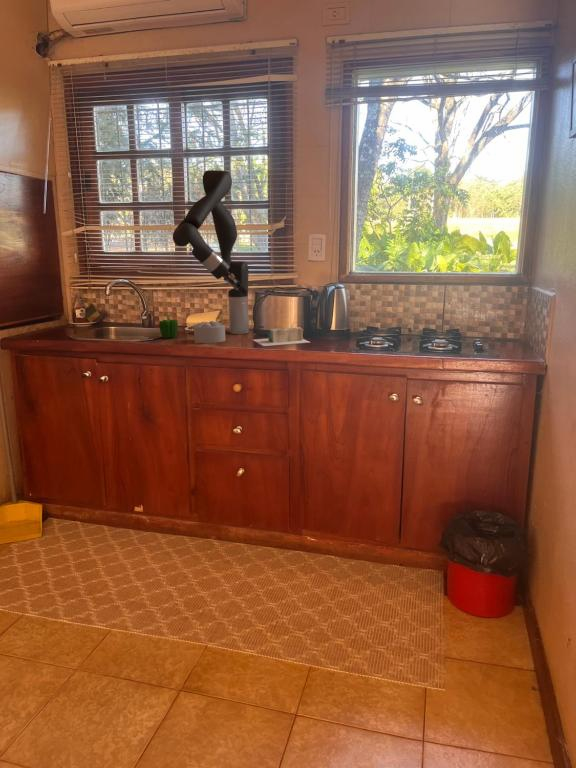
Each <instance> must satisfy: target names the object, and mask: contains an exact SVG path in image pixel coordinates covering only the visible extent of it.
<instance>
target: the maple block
mask: <svg viewBox="0 0 576 768" xmlns="http://www.w3.org/2000/svg"><path fill="white" fill-rule="evenodd" d="M303 331H304V329H303V328H301V327H298V326H297V327H282V328H270V329H267V333H268V334H267V336H268V337H267V339H268V341H270V342H272V343H275V342H288V341H301V340H303V339H304V336H303V334H304V332H303Z"/></svg>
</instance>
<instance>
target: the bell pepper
mask: <svg viewBox="0 0 576 768" xmlns="http://www.w3.org/2000/svg"><path fill="white" fill-rule="evenodd" d="M166 316H167V317H166V318H167V319H163V320H160V321H159V323H158V326H159V327H158V328H159V331H160V334H161V337H162V338H163V339H174V338H176V337H177V335H178V330H179V322H178V320H176V319H170V315H166Z"/></svg>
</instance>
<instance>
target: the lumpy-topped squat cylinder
mask: <svg viewBox="0 0 576 768" xmlns="http://www.w3.org/2000/svg"><path fill="white" fill-rule="evenodd" d="M193 336H194V337H193V338H194V343H195V344H198V343H206V344H205V345H213V344H215V345H216V343H222V342H225V341H226V326H225V325H224V324H222V323H221V322H219V321H214V320H211V321H201V322H198V323H197V324H196V325H193Z"/></svg>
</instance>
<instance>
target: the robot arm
mask: <svg viewBox="0 0 576 768" xmlns="http://www.w3.org/2000/svg"><path fill="white" fill-rule="evenodd" d="M232 179H233V178H232V176H231V174H230V172H229V171H228V170H227V171H226V170H217V169H216V170H215V169H208V170H205V171H204V172H203V174H202V186H203V191H204V193H205V195H204V196H202V197H201V198H200V199H199V200H197V201H195V202H194V204H193V205H192V206H191V207H190V209H189V210H188V212H187V214H186V215H185V216H184V219H182V221H181V222H179V224H178V225H177V227H176V228H175V229H174V231H173V232H172V240H173V243H174V245H176V246H178V247H185V246H187V245H189V244H190V246H191V247H192V250H191V255H192V256H193V257H194V258H195V259H196V260H198V262H200V264H201V265H202V266H203V267H204V268H205V269H206V270H207V271H208V272H209V273H210V274H211V275H212V276H213V277H214V278H215V279H217V280H219V279H222V278H223V279H222V280H223V281H224V282H225V283H227V284H228V285H229V286H230V287H232V289H229V290H228V292H227V295H228V299H227V300H228V320H229V322H228V323H229V333H230V334H233V335H241V334H242V335H243V334H248V333H250V319H249V265H248V262H246V261H240V260H239V261H236V260H235V261H234V260H233V261H232V258H231V257H232V256H231V254H232V250H233V248H234V245H235V243H236V242H237V241H236V240H237V239H238V230H237V225H236V221H235V219H234V217H233V215H232V214H231V213H230V211H229V210H228V209H227V208H226V206H225V205H224V203H223V202H222V200H223V199H224V198H225V197H226V196H227V195H228V194H229V192H230V191H231V189H232V185H233V180H232ZM210 214H211V215H212V216H211V217H212V220H213V226H214V230H215V234H216V238H217V242H218V246H219V247H218V248H219V251H220V254H219V253H217V252H216V251H215V250H214V249H213V248H212V247H211V246H210V245H209V244H208V243H207V242H206V241H205V239H204V238H203V236H202V235H201V233H200V232H199V229H200V228H201V227H202V225H204V223H205V221H206V220H207V218H208V216H209V215H210Z"/></svg>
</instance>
